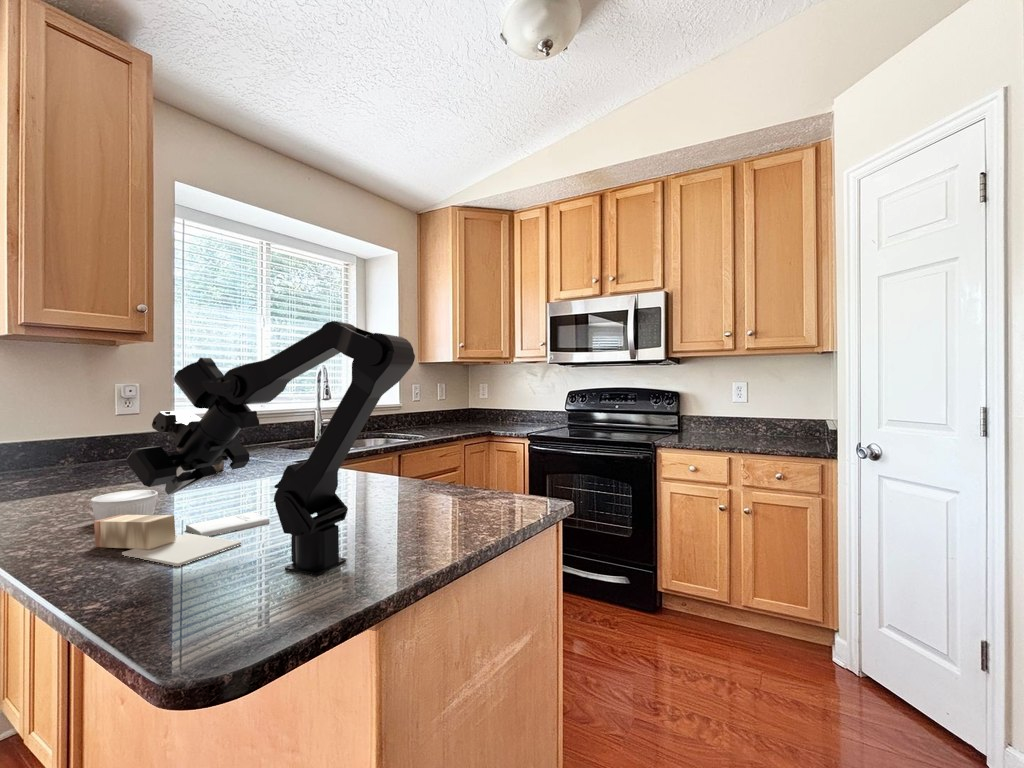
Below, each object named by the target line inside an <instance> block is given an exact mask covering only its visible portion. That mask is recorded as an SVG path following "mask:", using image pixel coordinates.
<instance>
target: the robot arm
mask: <svg viewBox="0 0 1024 768" xmlns="http://www.w3.org/2000/svg"><path fill="white" fill-rule="evenodd" d="M414 351H415V350H414V347H413V344H411V342H410V341H409V340H408V339H407V338H405V337H403V336H398V335H392V334H385V333H379V332H370V331H368V330H364V329H361V328H359V327H357V326H354V324H351V323H348V322H342V321H335V320H330V321H328V322H326V323H324V324H323V325H322V327H321V328H318V329H317V330H316V331H314V332H311V334H308V335H307V336H305V337H304V338H302V339H300V340H298V341H296V342H295V343H293V344H291V345H290V346H287V347H286V348H285V349H283V350H281V351H279V352H278V353H276V354H274V355H272V356H271V357H269V358H266V359H264V360H259V361H254V362H250V363H245V364H242V365H239V366H237V367H233V368H230V369H229V370H227V372H226V373H222V371H221V370H220V369H219V367H217V364H216V363H215V361H214V360H213V359H212V358H211V357H199V359H198V360H197V361H195V362H193V363H189V364H188V365H186V366H184V367H183V368H181V369H179V370H178V371H177V372H176V373H175V375H174V377H173V378H174V379H173V380H174V383H175V384H176V386H178V388H179V390H181V392H182V393H183V394H184V395H185V397H186V398H187V399H188V400H189V401H190V403H191V404H192V406H193V407H194V408H196V409H207V411H205V413H204V415H202V417H200V416H198V415H197V414H195V413H193V412H192V411H189V410H169V411H167V410H165V411H159V412H158V413H157V414H156V415H155V417H153V420H152V422H151V427H152V429H153V430H155V431H156V432H158V433H160V434H166V435H167V436H169V437H171V438H172V439H173V440H172V441H171V444H172V445H173V447H174V448H179V449H180V450H179V451H177V450H176V451H169V452H167V451H165V449H164V448H163V447H162V446H159V445H157V446H156V445H155V446H148V447H140V448H133V450H132V451H130V454H129V455H127V458H126V460H125V463H127V465H128V466H129V467H130V469H131V470H132V471H133V473H134V474H135V475H136V477H137V478H138V479H139V481H140V482H141V484H142V485H143V486H144V487H147V488H153V487H156V486H162V485H165V486H164V487H165V488H164V492H165V493H166V495H173V494H175V493H177V492H179V491H181V490H184V489H185V488H187V487H190V486H192V485H195V484H196V483H199V482H201V481H204V480H205V479H208V478H210V477H214V476H215V475H217V474H218V472H217V471H216V470H215V468H214V467H213V466H214V465H218V464H220V463H221V462H223V461H224V462H227V461H228V460H229V459H230V461H231V462H230V463H229V468H230V469H232V471H233V470H238V469H243V468H245V467H246V466H247V464H248V463H249V461H250V453H249V451H248V450H247V449H246V448H245V446H244V445H243V443H241V441H240V440H239V439H238V438H237V437H236V436H237V435H238V433H240V431H241V430H243V429H244V430H245V429H254V428H259V427H260V419H259V416H258V412H257V410H252V409H251V408H250V407H249V406H248V405H252V404H253V405H257V404H268V403H270V402H272V401H273V400H274V399H276V398H277V397H278V396H279V395H280V394H281V393H282V392H284V391H285V388H286V387H287V385H288V384H289V383H290V382H291V381H292V380H294V379H296V378H297V377H299V376H301V375H303V374H305V373H306V372H308V371H310V370H312V369H313V368H315V367H316V366H319V365H321V364H322V363H324V362H326V361H328V360H330V359H332V358H334V357H336V356H337V355H339V354H342V355H343V356H346V357H348V358H351V359H353V360H352V363H351V382H350V384H349V386H348V388H347V389H346V391H345V394H344V395H343V397H342V399H341V401H340V403H339V404H338V406H337V407H336V408H335V411H334V413H333V414H332V415H331V418H330V420H329V421H328V424H327V425H326V427H325V428H324V430H323V432H322V434H321V436H320V438H318V441H317V443H315V446H314V448H313V450H312V451H311V453H310V454H309V456H308V458H307V459H306V461H301V462H296V463H294V464H293V463H292V464H289V465H287V466H286V468H285V469H284V471H283V473H282V476H281V479H280V480H279V482H278V483H277V484H275V485H274V489H277V490H276V491H275V493H274V495H273V502H274V503H275V509H276V512H277V516H278V520H279V522H280V525H281V528H282V531H283V533H284V534H287V535H291V537H290V541H291V542H290V543H291V544H290V545H291V562H292V563H290V564H288V565H285V566H284V571H287V572H291V573H298V574H303V575H309V576H313V577H315V576H316V577H317V576H319V575H322V574H324V573H326V572H328V571H329V570H332V569H334V568H336V567H338V566H340V565H343V564H344V563H346V562H347V558H346V557H340V553H339V551H340V550H339V549H340V547H339V545H340V543H339V541H340V539H339V537H340V535H339V534H340V533H339V531H340V530H339V525H338V523H340V522H342V521H346V516H347V514H348V511H349V510H348V509H349V508H348V506H347V505H346V504H345V503H344V502H343V500H342V499H341V498H340V496H338V495H337V493H336V492H337V489H338V486H339V478H338V477H339V473H338V472H339V470H340V468H341V466H342V465H343V464H344V463H343V462H344V461H345V459H346V458H347V456H348V454H349V452H350V451H351V449H352V447H353V445H354V444H355V442H356V440H357V439H358V437H359V435H360V434H361V432H362V430H363V428H364V426H366V423H367V422H368V420H369V418H370V417H371V415H372V413H373V411H374V410H375V408H376V406H377V405H378V403H379V401H380V399H381V398H382V396H383V395H384V394H386V393H387V392H388V391H389V390H390V389H392V388H393V387H395V386H396V385H397V384H398V383H399V382H401V380H402V379H403V377H404V376H405V375H406V374H407V373H408V372H409V370H410V369H411V368H412V366H413V365H414V363H415V358H416V354H415V352H414ZM315 514H316V515H315ZM312 515H315V516H312ZM336 523H337V524H336Z"/></svg>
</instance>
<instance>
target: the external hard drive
mask: <svg viewBox="0 0 1024 768" xmlns="http://www.w3.org/2000/svg"><path fill="white" fill-rule="evenodd" d="M270 521H271V520H270V518H269V517H267V516H264V515H262V514H259V513H257V512H254V511H253V512H247V513H241V514H237V515H230V516H225V517H220V518H216V519H210V520H206V521H205V520H204V521H200V522H195V523H190V524H186V525H185V531H186V530H187V531H186V532H188V531H189V532H188V533H190V532H191V533H190V534H192V533H193V534H196V535H202V536H210V537H212V536H211V535H215V536H217V535H216V534H219V535H221V534H220V533H224V534H226V533H225V532H228V533H230V532H229V531H233V532H236V531H235V530H237V531H241V530H240V529H242V530H246V529H250V527H251V528H255V527H259V526H264V525H269V524H270ZM245 528H246V529H245Z"/></svg>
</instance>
